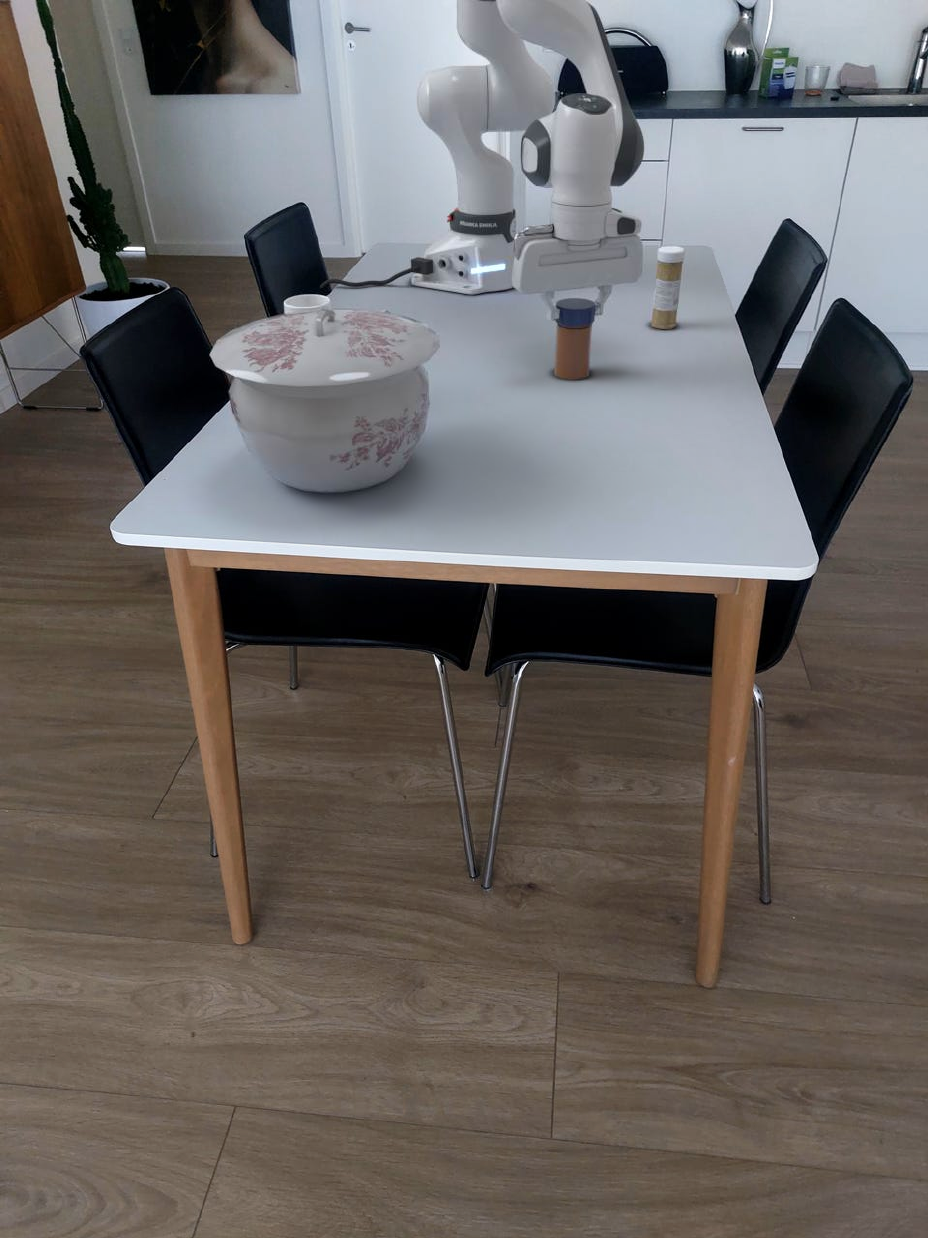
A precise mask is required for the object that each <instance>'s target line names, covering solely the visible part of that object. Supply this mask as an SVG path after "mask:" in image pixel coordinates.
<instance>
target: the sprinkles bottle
mask: <svg viewBox="0 0 928 1238" xmlns="http://www.w3.org/2000/svg"><path fill="white" fill-rule="evenodd" d="M656 256H657V257H656V259H657V266H656V275H655V276H656V277H655V285H654V293H653V302H652V315H651V321H650V326H651V327H653V328H655V329H660V330H669V329H670V330H671V329H674V328H675V327H676V326H677V314H678V313H677V312H678V308H679V300H680V291H681V284H682V273H683V272H682V270H683V264H684V260H685V249H684V248H683V247H681V246H676V245H664V246H661V247H659V248H658V250H657V255H656Z"/></svg>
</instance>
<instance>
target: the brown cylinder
mask: <svg viewBox="0 0 928 1238" xmlns="http://www.w3.org/2000/svg"><path fill="white" fill-rule="evenodd" d="M555 327H556V329H555V351H554V352H555V353H554V375H555V376H556V377H557V378H558V379H562V380H570V381H577V380H583V379H586V378H587V377H589V375H590V367H591V366H590V365H591V352H592V351H591V350H592V336H593V335H592V334H593V323H592V324H590V325H587V326H581V327H570V326H564V325H560V324H558V323H557V322H556V326H555Z"/></svg>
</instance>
